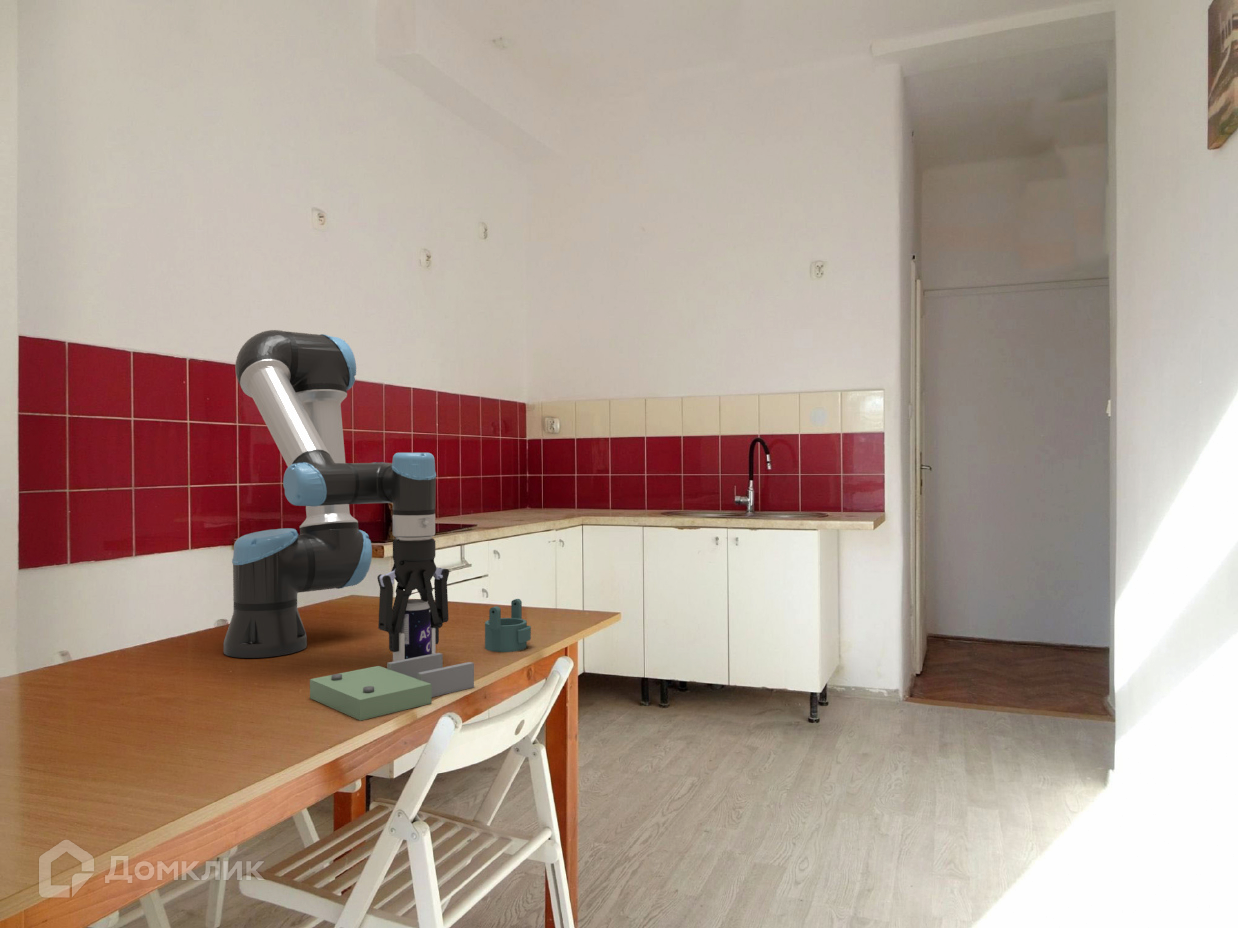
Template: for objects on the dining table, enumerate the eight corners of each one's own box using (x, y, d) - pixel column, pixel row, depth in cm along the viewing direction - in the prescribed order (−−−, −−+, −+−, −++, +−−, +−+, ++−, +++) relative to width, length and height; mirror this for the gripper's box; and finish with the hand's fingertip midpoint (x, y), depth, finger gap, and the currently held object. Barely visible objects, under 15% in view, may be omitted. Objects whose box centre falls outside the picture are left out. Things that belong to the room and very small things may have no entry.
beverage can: (422, 672, 150) (422, 604, 150) (392, 670, 151) (392, 603, 151) (435, 664, 155) (435, 599, 155) (406, 663, 156) (406, 598, 156)
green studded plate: (309, 698, 134) (309, 672, 134) (429, 672, 150) (429, 650, 149) (360, 720, 123) (360, 692, 123) (484, 690, 138) (484, 666, 138)
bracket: (489, 654, 164) (490, 608, 164) (480, 643, 172) (481, 599, 172) (535, 650, 167) (535, 605, 167) (524, 640, 176) (524, 597, 175)
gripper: (378, 543, 143) (378, 679, 144) (469, 535, 157) (469, 660, 157) (356, 539, 149) (356, 671, 149) (446, 533, 162) (446, 653, 162)
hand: (414, 665), depth 153 cm, fingers closed on beverage can, 6 cm apart
